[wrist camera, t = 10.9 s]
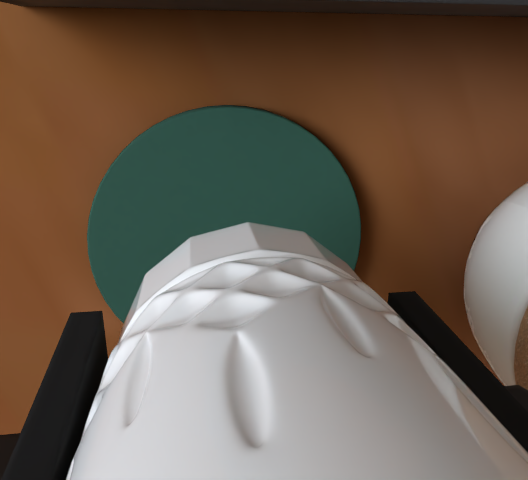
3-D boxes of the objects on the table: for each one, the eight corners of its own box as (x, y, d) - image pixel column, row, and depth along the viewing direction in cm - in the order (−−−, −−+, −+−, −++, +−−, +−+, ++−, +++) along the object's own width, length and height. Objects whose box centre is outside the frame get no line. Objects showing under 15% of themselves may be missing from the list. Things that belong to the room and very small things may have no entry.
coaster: (367, 104, 19) (373, 105, 19) (347, 345, 23) (351, 352, 23) (72, 105, 18) (69, 107, 17) (105, 363, 22) (103, 372, 21)
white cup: (170, 149, 12) (125, 508, 3) (432, 263, 14) (893, 670, 5) (62, 403, 14) (-169, 1094, 5) (305, 467, 16) (464, 1019, 7)
